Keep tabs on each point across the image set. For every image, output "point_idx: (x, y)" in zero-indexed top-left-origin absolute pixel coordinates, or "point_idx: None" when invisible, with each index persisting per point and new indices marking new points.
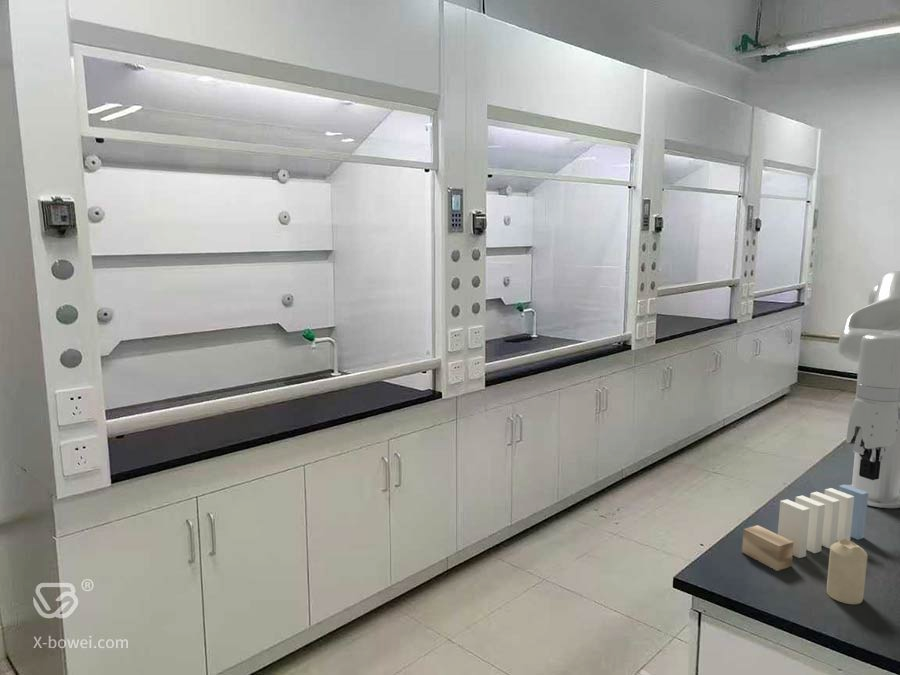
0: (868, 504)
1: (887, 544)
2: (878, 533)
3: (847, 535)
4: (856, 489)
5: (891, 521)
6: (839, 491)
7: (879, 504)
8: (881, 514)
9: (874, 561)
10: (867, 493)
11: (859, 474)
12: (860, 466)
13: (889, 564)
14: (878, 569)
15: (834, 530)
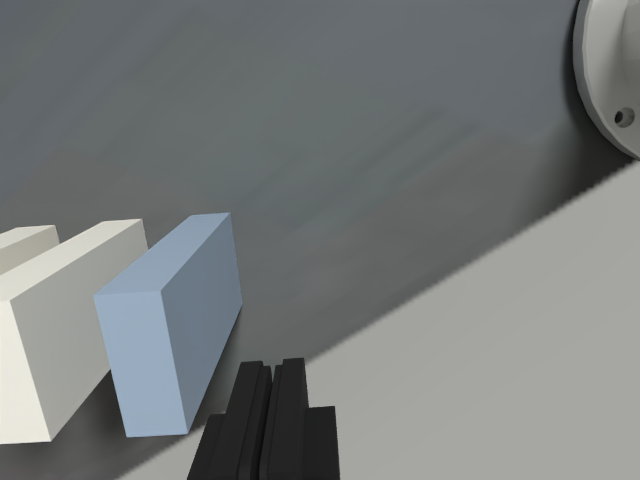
0: (580, 91)
1: None
2: (332, 298)
3: None
4: (160, 376)
5: (494, 245)
6: (20, 361)
7: (606, 131)
8: (532, 181)
9: (123, 423)
10: (181, 431)
11: (242, 365)
12: (228, 413)
13: (153, 449)
14: (91, 456)
15: None
